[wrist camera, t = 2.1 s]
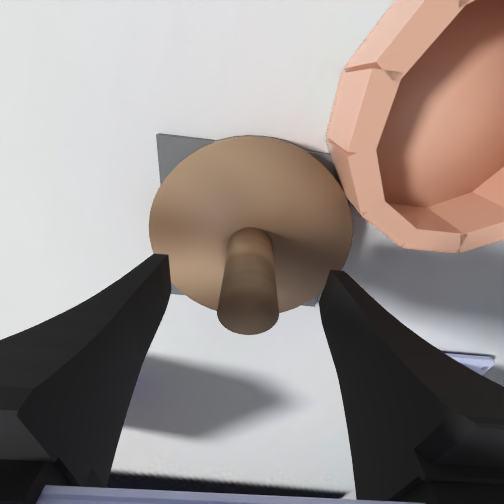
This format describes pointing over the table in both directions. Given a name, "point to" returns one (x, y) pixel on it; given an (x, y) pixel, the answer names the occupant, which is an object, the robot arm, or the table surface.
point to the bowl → (426, 125)
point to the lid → (251, 229)
